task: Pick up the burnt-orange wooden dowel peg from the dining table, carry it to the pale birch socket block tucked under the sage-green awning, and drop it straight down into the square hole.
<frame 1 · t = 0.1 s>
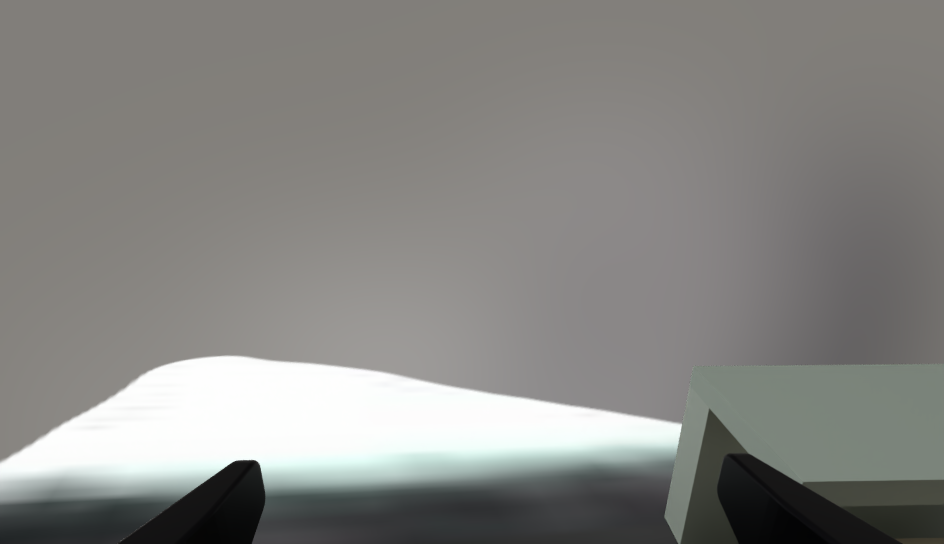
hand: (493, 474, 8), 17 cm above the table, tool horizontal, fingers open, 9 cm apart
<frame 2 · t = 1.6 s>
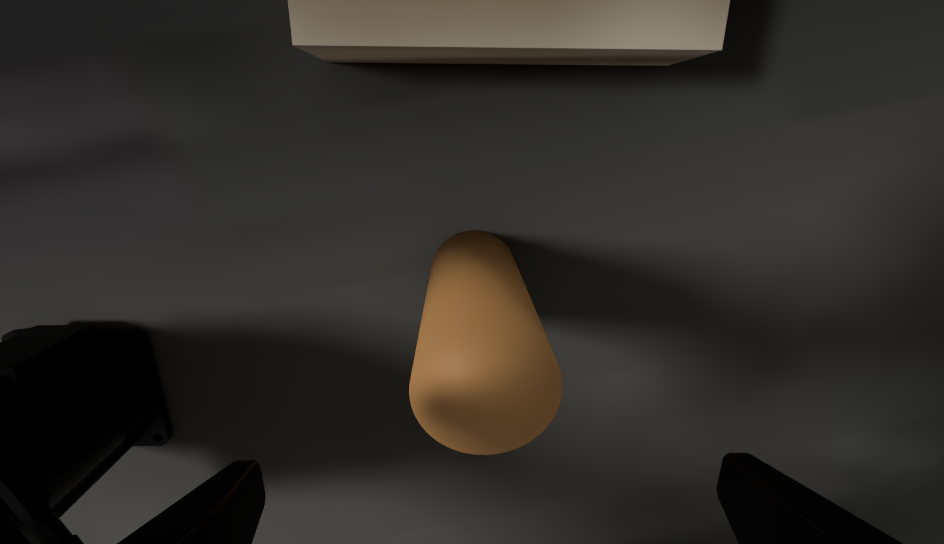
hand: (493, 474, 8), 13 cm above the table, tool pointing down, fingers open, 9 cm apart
peg: (473, 271, 21), on the table
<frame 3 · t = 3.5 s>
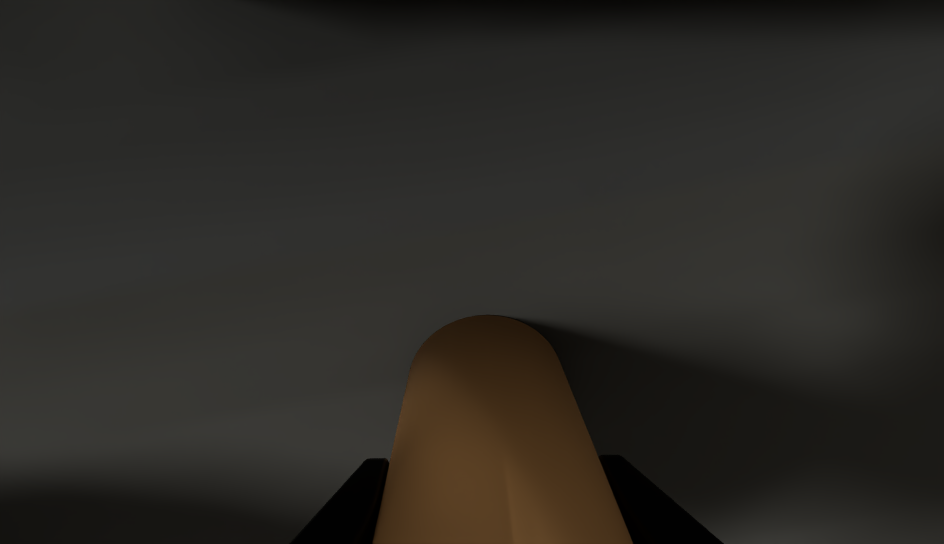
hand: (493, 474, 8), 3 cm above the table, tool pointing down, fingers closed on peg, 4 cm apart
peg: (485, 385, 11), on the table, touching gripper
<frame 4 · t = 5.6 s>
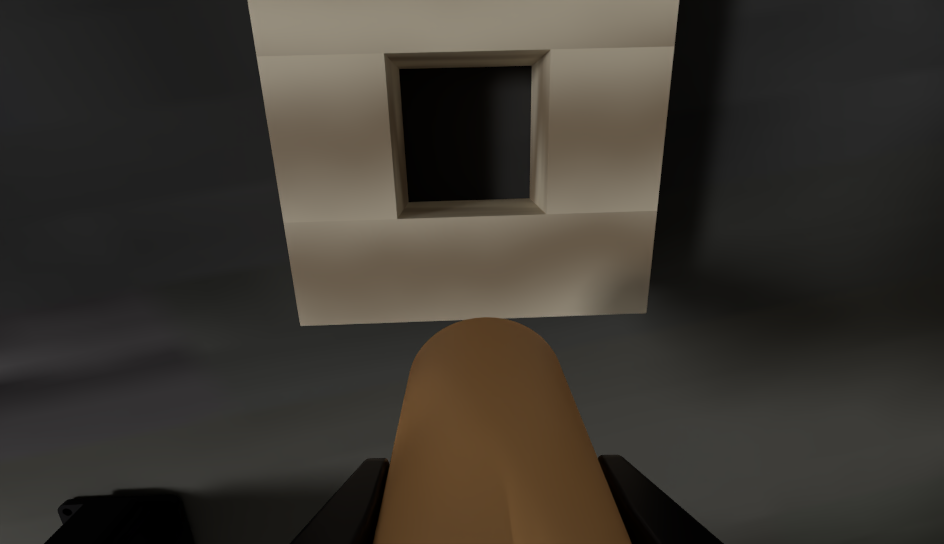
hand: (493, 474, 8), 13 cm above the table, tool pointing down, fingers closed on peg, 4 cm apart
peg: (485, 387, 11), point 10 cm above the table, touching gripper
socket block: (467, 136, 19), on the table
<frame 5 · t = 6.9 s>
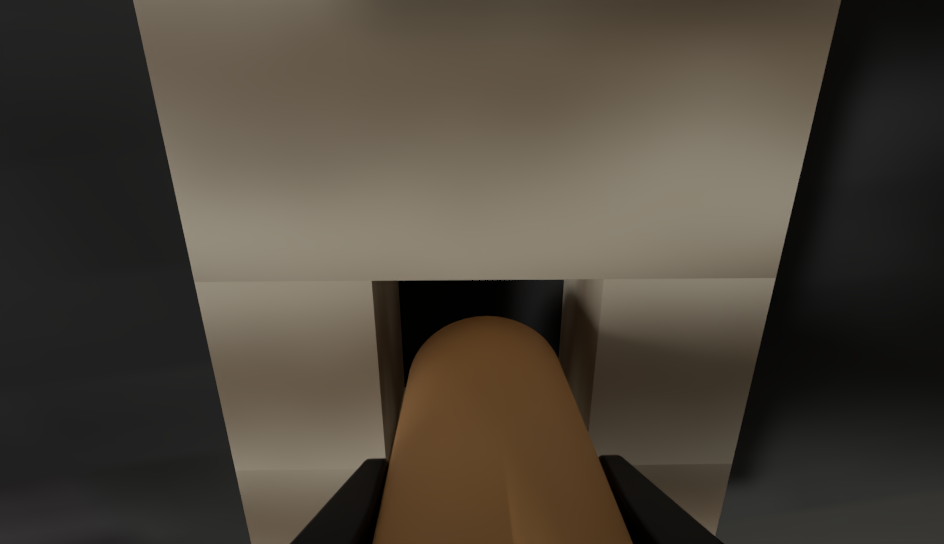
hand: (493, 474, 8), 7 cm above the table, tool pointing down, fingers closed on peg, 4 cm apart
peg: (485, 386, 11), point 4 cm above the table, touching gripper
socket block: (481, 316, 15), on the table
when the fingers open (5 cm above the table, at t = 8.0 s): peg drops 2 cm, resting in socket block.
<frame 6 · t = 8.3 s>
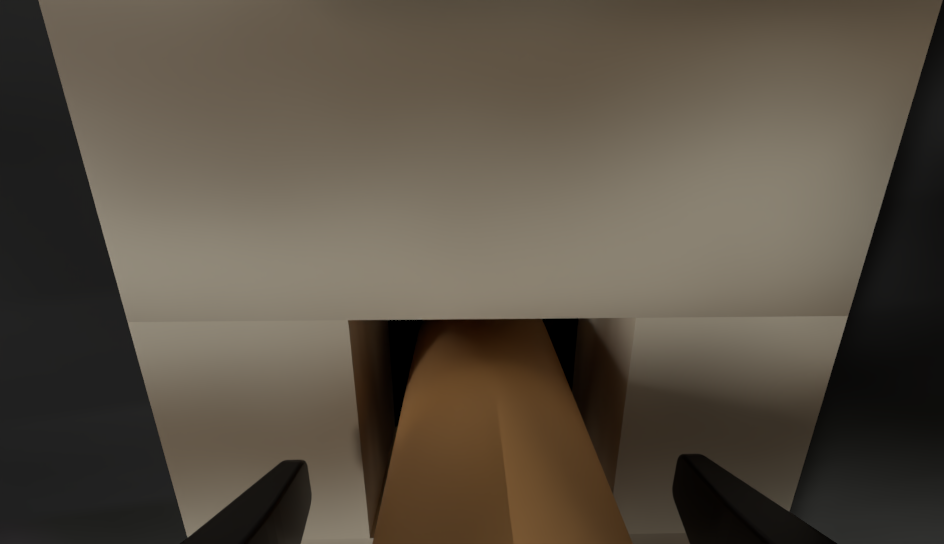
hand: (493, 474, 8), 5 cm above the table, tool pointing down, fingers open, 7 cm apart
peg: (482, 349, 13), resting in socket block
socket block: (483, 347, 13), on the table
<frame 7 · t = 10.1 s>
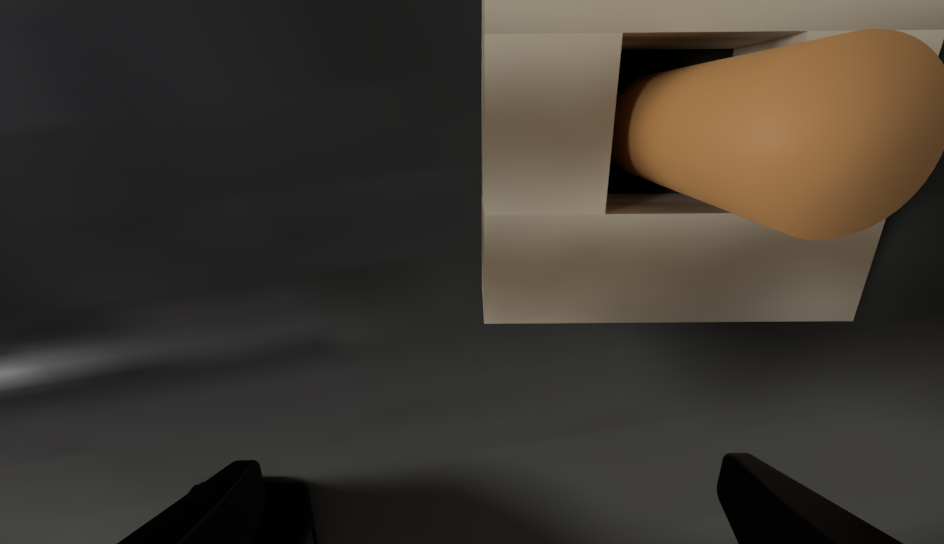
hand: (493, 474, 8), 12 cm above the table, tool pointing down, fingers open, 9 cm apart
peg: (651, 126, 18), resting in socket block
socket block: (652, 125, 18), on the table
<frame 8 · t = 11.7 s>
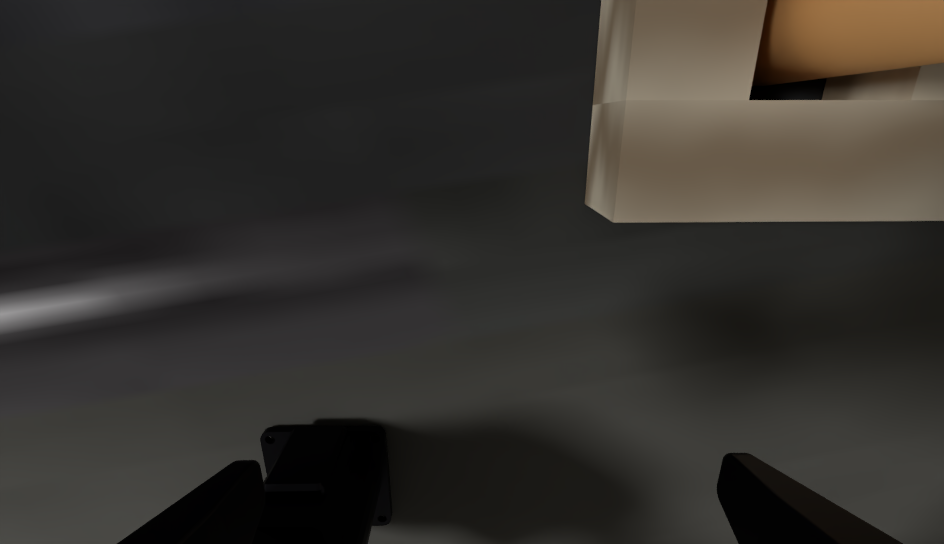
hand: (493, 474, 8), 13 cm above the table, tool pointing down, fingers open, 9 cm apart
peg: (769, 33, 18), resting in socket block
socket block: (770, 31, 18), on the table
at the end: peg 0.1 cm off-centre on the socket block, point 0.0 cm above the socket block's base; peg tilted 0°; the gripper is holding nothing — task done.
